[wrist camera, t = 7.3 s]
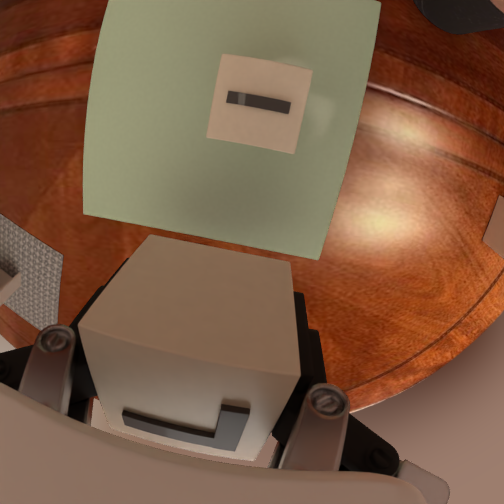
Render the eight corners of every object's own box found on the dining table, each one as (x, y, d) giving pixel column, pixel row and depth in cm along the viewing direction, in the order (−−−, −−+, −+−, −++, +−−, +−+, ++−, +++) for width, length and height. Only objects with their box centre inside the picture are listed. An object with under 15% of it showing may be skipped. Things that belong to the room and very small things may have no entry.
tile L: (149, 233, 10) (72, 329, 5) (290, 261, 10) (302, 382, 6) (149, 336, 12) (107, 432, 8) (260, 359, 12) (254, 466, 8)
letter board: (120, -23, 14) (117, -26, 14) (378, 5, 15) (381, 2, 14) (87, 211, 24) (83, 214, 23) (317, 256, 25) (318, 260, 24)
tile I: (233, 66, 18) (221, 52, 13) (303, 79, 18) (314, 69, 13) (220, 131, 20) (204, 138, 15) (289, 145, 20) (295, 155, 16)
